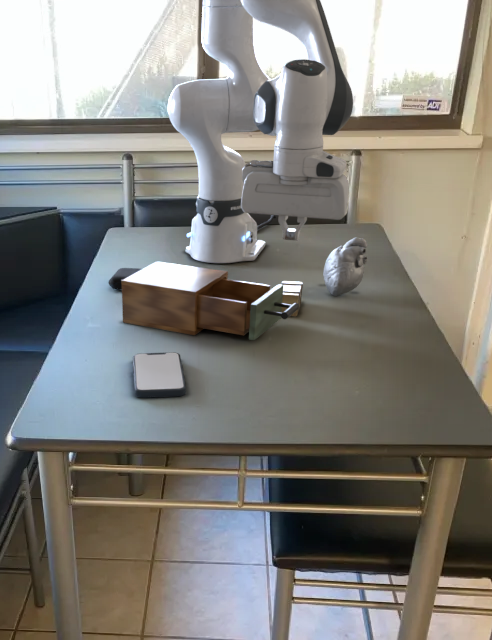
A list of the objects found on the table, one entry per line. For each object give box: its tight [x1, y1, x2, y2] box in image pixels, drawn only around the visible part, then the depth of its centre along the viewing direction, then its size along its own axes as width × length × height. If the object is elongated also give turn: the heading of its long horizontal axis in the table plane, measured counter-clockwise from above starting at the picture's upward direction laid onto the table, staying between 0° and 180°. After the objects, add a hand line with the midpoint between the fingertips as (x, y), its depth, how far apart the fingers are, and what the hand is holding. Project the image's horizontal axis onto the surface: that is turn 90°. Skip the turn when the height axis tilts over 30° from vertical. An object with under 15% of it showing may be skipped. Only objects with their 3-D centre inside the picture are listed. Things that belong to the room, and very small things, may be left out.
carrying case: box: [108, 267, 143, 291], centre depth 185 cm, size 11×3×15 cm
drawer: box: [197, 278, 300, 341], centre depth 160 cm, size 20×13×7 cm, turn 59°
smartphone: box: [132, 351, 187, 399], centre depth 143 cm, size 9×2×16 cm
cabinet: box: [121, 260, 229, 336], centre depth 167 cm, size 17×15×9 cm
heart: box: [322, 237, 368, 297], centre depth 176 cm, size 10×10×12 cm
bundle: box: [280, 280, 304, 317], centre depth 170 cm, size 9×4×5 cm, turn 164°
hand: (290, 239), depth 158 cm, fingers closed
